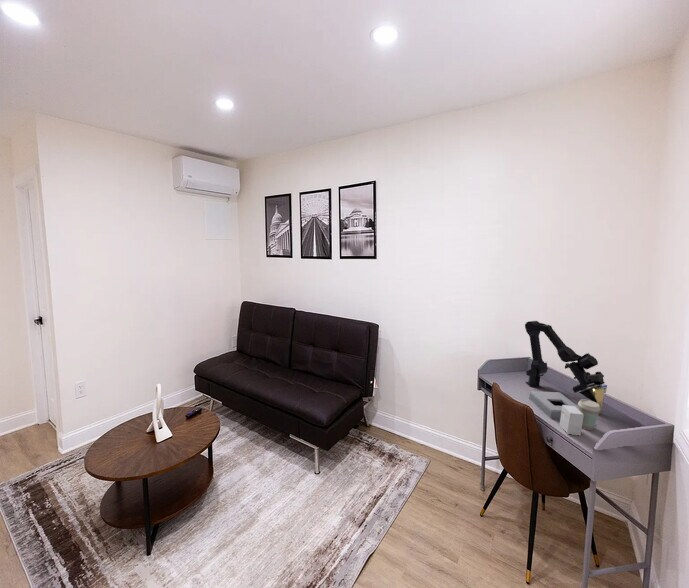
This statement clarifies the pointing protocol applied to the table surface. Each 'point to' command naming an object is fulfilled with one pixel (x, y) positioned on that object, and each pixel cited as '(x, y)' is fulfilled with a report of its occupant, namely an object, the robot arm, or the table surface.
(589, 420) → the coffee cup
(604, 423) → the table surface
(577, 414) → the small box
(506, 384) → the table surface
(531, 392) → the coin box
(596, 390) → the brass cylinder
